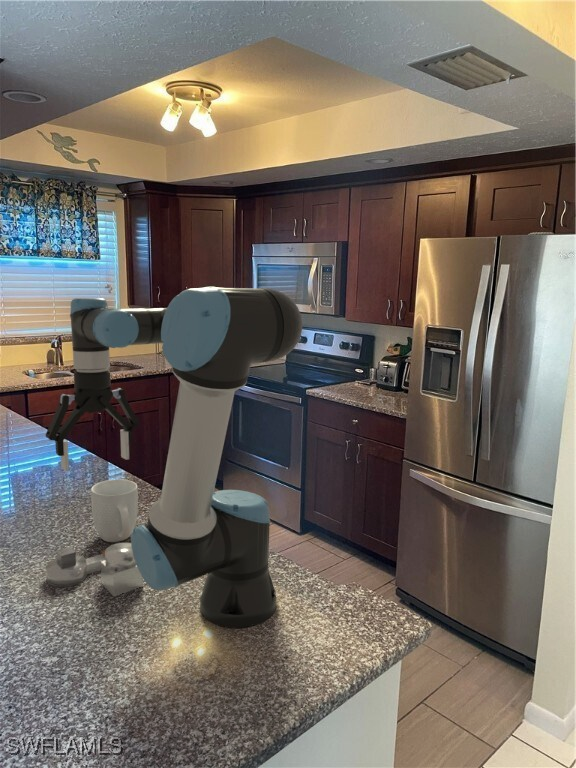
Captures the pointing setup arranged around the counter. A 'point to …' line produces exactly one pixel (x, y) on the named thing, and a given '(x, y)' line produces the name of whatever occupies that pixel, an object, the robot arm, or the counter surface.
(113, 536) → the mug
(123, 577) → the metal knob on block
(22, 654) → the counter surface
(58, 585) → the ratchet
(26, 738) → the counter surface
